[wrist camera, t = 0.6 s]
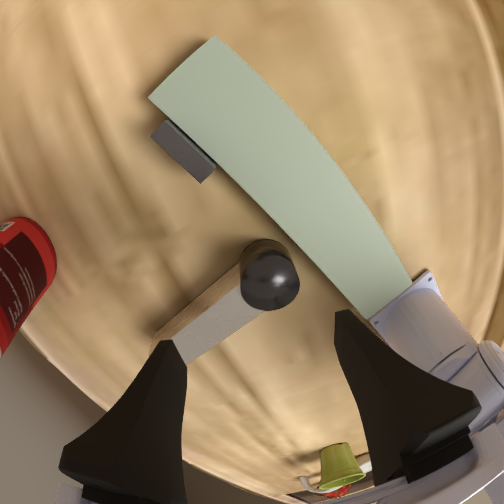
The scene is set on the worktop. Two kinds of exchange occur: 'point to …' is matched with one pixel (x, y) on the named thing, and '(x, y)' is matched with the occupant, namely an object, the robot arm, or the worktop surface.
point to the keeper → (184, 150)
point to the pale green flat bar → (283, 171)
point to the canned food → (22, 273)
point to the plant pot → (338, 467)
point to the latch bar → (233, 300)
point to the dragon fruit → (336, 492)
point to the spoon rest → (363, 463)
